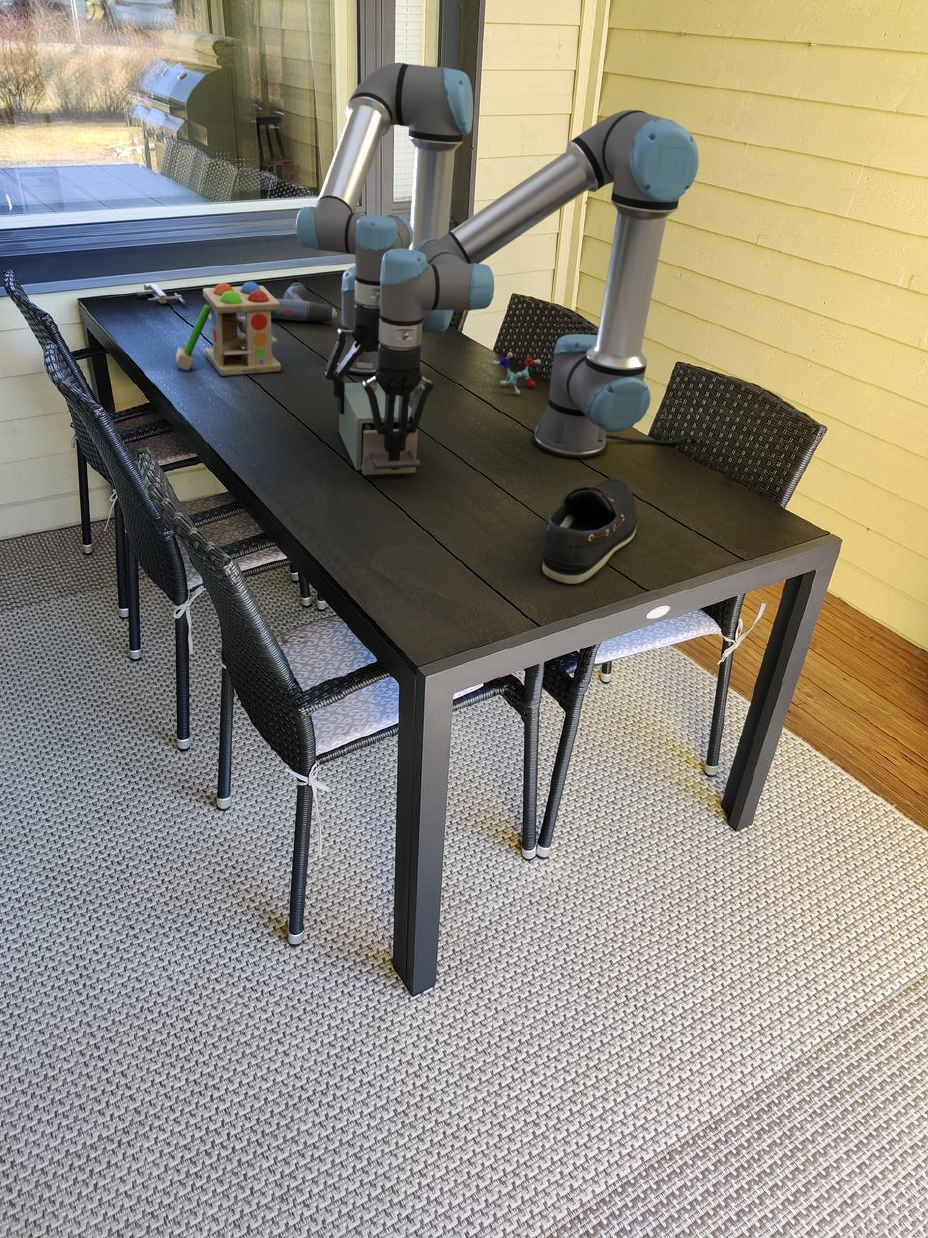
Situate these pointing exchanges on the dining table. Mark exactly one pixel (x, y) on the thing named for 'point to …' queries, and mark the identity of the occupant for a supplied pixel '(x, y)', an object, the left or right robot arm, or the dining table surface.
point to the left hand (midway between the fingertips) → (370, 410)
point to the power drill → (301, 307)
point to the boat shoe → (588, 530)
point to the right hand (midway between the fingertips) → (393, 466)
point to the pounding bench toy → (229, 347)
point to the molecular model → (511, 375)
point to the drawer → (378, 457)
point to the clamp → (158, 294)
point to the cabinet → (360, 418)
